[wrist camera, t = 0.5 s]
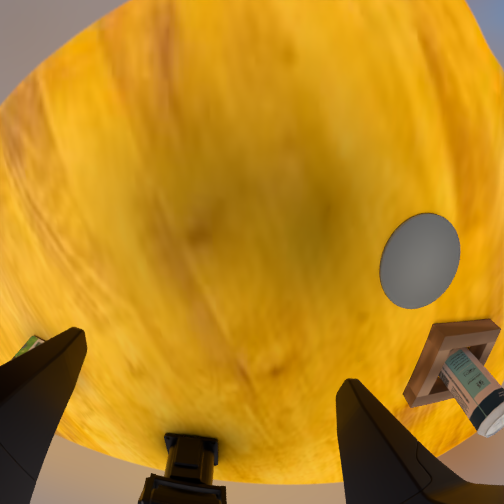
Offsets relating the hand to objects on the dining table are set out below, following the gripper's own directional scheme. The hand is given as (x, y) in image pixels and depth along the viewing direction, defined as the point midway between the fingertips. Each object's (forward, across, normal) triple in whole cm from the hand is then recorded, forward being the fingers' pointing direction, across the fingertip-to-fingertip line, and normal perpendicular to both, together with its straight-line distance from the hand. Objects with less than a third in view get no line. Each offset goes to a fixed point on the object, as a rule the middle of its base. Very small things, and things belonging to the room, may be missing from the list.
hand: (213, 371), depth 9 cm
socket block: (+14, -27, +10) cm, 32 cm away
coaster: (+14, -17, 0) cm, 22 cm away
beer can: (+14, -27, +10) cm, 32 cm away
